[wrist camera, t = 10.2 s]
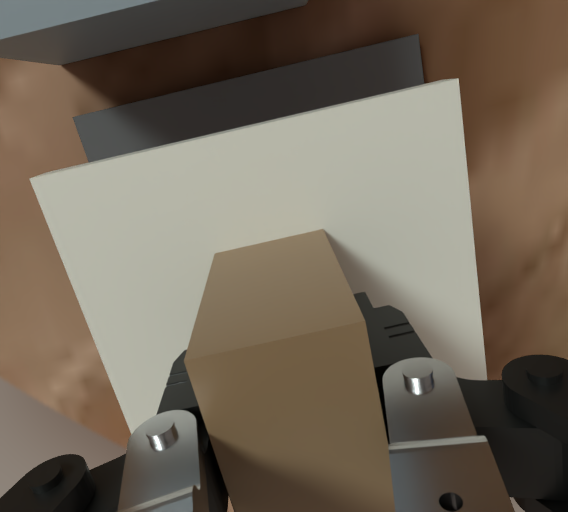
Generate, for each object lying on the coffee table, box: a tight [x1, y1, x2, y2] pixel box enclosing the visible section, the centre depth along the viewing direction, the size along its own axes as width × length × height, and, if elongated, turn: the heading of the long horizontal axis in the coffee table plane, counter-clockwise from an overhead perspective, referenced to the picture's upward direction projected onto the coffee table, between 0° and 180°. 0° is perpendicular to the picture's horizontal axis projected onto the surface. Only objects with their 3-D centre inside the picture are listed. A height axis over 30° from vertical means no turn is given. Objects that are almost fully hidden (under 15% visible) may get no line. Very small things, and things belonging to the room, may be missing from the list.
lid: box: [30, 78, 487, 512], centre depth 12 cm, size 11×11×6 cm
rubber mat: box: [73, 34, 424, 162], centre depth 21 cm, size 14×14×1 cm
